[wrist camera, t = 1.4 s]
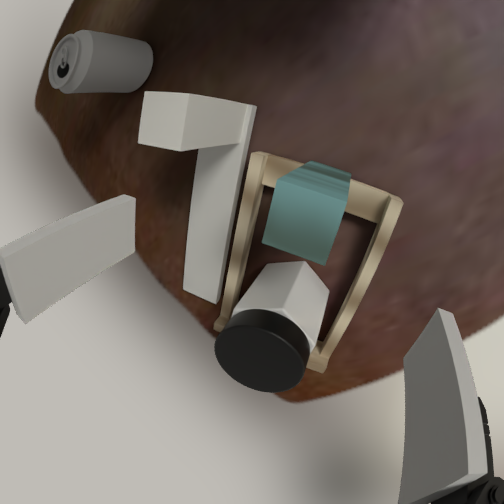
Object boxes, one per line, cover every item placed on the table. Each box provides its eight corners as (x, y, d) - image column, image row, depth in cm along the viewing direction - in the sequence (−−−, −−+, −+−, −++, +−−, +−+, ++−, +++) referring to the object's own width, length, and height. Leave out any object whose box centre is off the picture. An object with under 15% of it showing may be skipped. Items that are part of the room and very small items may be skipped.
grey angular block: (213, 99, 26) (140, 91, 16) (256, 106, 25) (196, 94, 15) (187, 285, 37) (136, 333, 28) (219, 299, 36) (172, 354, 27)
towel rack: (261, 146, 26) (196, 158, 16) (401, 192, 23) (431, 236, 13) (227, 311, 36) (179, 372, 26) (328, 351, 33) (307, 427, 23)
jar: (243, 280, 34) (193, 342, 24) (293, 243, 30) (254, 306, 19) (289, 331, 35) (257, 403, 24) (341, 303, 30) (326, 382, 20)
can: (112, 89, 30) (39, 91, 19) (126, 40, 26) (55, 31, 16) (147, 97, 28) (68, 98, 18) (165, 43, 25) (88, 25, 14)
